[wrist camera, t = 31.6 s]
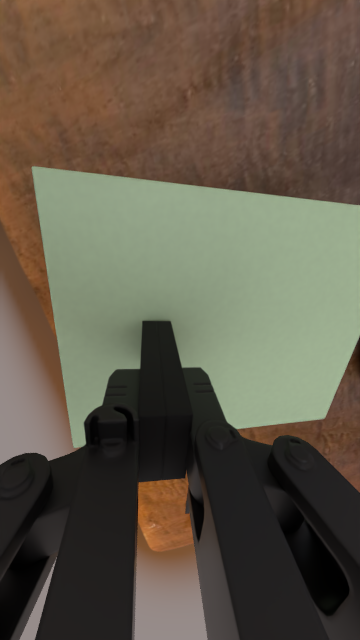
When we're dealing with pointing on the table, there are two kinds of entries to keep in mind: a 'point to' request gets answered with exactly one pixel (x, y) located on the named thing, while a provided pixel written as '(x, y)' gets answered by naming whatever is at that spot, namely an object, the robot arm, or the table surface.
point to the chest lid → (201, 289)
